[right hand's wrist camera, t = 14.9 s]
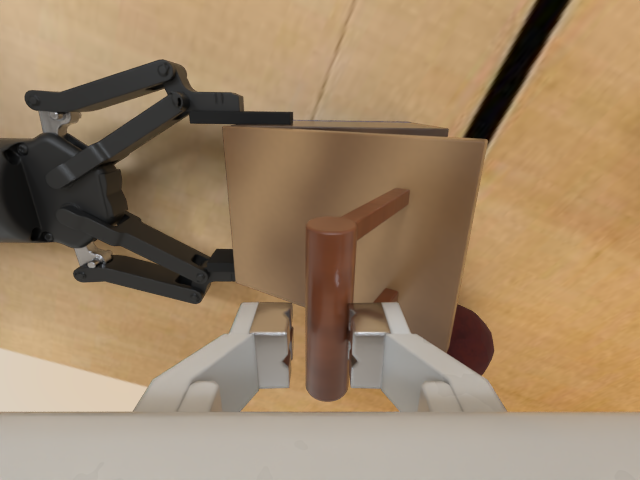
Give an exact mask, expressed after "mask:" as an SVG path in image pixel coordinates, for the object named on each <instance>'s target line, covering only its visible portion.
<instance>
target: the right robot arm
mask: <svg viewBox="0 0 640 480" xmlns="http://www.w3.org/2000/svg"><path fill="white" fill-rule="evenodd" d="M292 319H293V307H292V303H275V302H260V303H259V302H243V303H241V305H240V307H239V310H238V312H237V315H236V317H235V320H234V322H233V325H232V327H231V329H230V332H229V334H223V335H221V336H220V337H218V338H217V339H215V340H213V341H212V342H210V343H209V344H207V345H206V346H204V347H203V348H201V349H199V350H198V351H196V352H195V353H193V354H192V355H190V356H189V357H187V358H185V359H184V360H182V361H181V362H179V363H178V364H176V365H175V366H173V367H171V368H170V369H168V370H167V371H165V372H164V373H162V374H161V375H159V376H157V377H156V378H154V379H153V380H152V381H151V383H150V385H149V386H148V388H147V389H146V391H145V393H144V394H143V396H142V397H141V399H140V401H139V402H138V404H137V406H136V407H135V409H134V410H133V412H0V480H640V412H507V410H506V409H505V407H504V405H503V404H502V402H501V401H500V399H499V397H498V396H497V394H496V392H495V391H494V389H493V388H492V386H491V384H490V383H489V381H488V380H487V379H485V378H484V377H482V376H481V375H479V374H478V373H476V372H475V371H473V370H471V369H470V368H468V367H467V366H465V365H464V364H462V363H461V362H459V361H458V360H456V359H454V358H453V357H451V356H450V355H448V354H447V353H445V352H444V351H442V350H440V349H439V348H437V347H436V346H434V345H433V344H431V343H430V342H428V341H427V340H425V339H423V338H422V337H420V336H419V335H417V334H411V332H410V330H409V327H408V325H407V322H406V320H405V317H404V315H403V313H402V310H401V308H400V305H399V303H398V302H379V303H348V309H347V320H348V328H347V338H346V347H347V359H348V360H349V376H350V384H351V388H375V389H381V390H382V392H383V393H384V394H385V395H386V396H387V397H388V398H389V400H390V401H391V402H392V403H393V404H394V405H395V406H396V408H397V409H398V410H399V411H400V412H240V411H241V410H242V409H243V408H244V407H245V405H246V404H247V403H248V402H249V401H250V400H251V399H252V398H253V396H254V395H255V394H256V393H257V392H258V391H259V389H265V388H289V385H290V376H291V360H292V358H293V344H294V332H293V327H292Z"/></svg>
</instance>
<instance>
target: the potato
mask: <svg viewBox="0 0 640 480" xmlns="http://www.w3.org/2000/svg"><path fill="white" fill-rule="evenodd" d="M493 353H494V346H493V339H492V335H491V332H490V330H489V329H488V327H487V326H486V324H485V323H484V322H483V321H482V320H481V319H480V318H479V317H478V315H477V314H475V313H474V312H473V311H471V310H469V309H467V308H465V307H463V306H460V305H457V307H456V313H455V318H454V323H453V329H452V334H451V339H450V345H449V348H448V351H447V354H448V355H450V356H451V357H453V358H454V359H456V360H458V361H459V362H461V363H462V364H464V365H465V366H467V367H468V368H470V369H471V370H473V371H475V372H476V373H478V374H479V375H482V374H483V373H484V372H485V370H486V369H487V367H488V365H489V363H490V361H491V360H492V356H493Z"/></svg>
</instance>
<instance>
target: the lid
mask: <svg viewBox="0 0 640 480" xmlns="http://www.w3.org/2000/svg"><path fill="white" fill-rule="evenodd" d="M222 130H223V141H224V153H225V164H226V176H227V187H228V199H229V211H230V222H231V234H232V245H233V257H234V268H235V280H236V283H238V284H241V285H244V286H247V287H250V288H252V289H255V290H258V291H261V292H264V293H266V294H269V295H272V296H275V297H278V298H281V299H283V300H286V301H289V302H292V303H295V304H297V305H300V306H303V307H305V329H306V389H307V391H308V392H309V394H310V395H311V396H312V397H314V398H315V399H317V400H320V401H325V402H330V401H335V400H338V399H340V398H341V397H343V396H344V395H345V393H346V392H347V390H348V385H349V360H348V359H347V347H346V338H347V328H348V320H347V309H348V303H379V302H398V303H399V305H400V308H401V310H402V313H403V315H404V317H405V320H406V322H407V325H408V327H409V330H410V332H411V334H417V335H419V336H420V337H422V338H423V339H425V340H427V341H428V342H430V343H431V344H433V345H434V346H436V347H437V348H439V349H440V350H442V351H444V352H445V353H447V351H448V348H449V345H450V339H451V334H452V329H453V323H454V318H455V313H456V307H457V302H458V297H459V292H460V286H461V281H462V276H463V270H464V265H465V260H466V254H467V249H468V244H469V238H470V233H471V228H472V222H473V217H474V212H475V206H476V201H477V196H478V191H479V185H480V180H481V175H482V169H483V164H484V159H485V153H486V148H487V143H488V141H487V139H474V138H455V137H436V136H418V135H399V134H380V133H362V132H343V131H324V130H306V129H287V128H268V127H250V126H223V127H222Z"/></svg>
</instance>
